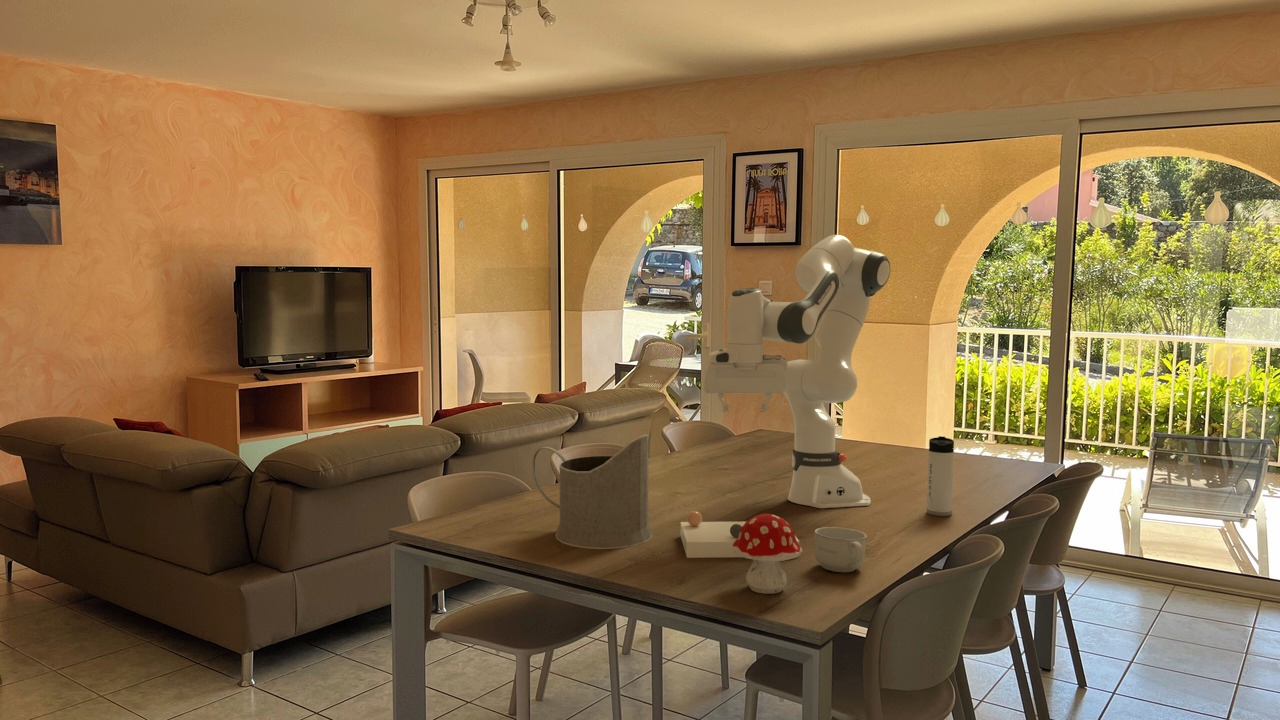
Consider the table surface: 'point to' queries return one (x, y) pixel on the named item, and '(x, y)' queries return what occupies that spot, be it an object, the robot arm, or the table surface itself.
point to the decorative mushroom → (766, 551)
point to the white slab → (709, 539)
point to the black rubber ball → (735, 530)
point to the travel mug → (940, 476)
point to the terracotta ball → (694, 518)
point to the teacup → (839, 548)
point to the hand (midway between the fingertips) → (744, 411)
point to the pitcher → (603, 498)
